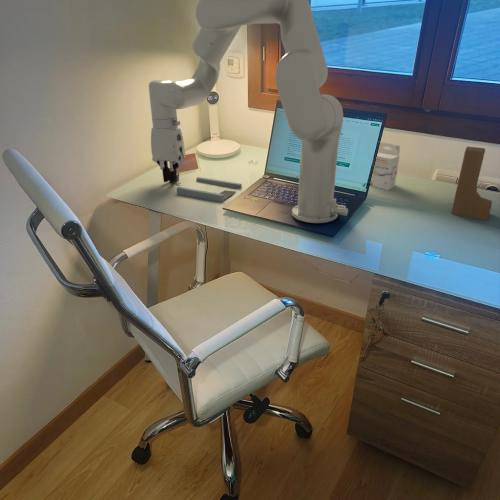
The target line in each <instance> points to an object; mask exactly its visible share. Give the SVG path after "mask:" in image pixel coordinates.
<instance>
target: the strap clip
mask: <svg viewBox="0 0 500 500" xmlns="http://www.w3.org/2000/svg"><path fill="white" fill-rule="evenodd" d="M176 172H177V181H179V180H180V172H179V171H176ZM177 181H176V182H173V184H174V185H176V186H177V187H182V186H183V184H182V182H177ZM181 184H182V185H181Z"/></svg>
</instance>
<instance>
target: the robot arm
mask: <svg viewBox="0 0 500 500" xmlns="http://www.w3.org/2000/svg"><path fill="white" fill-rule="evenodd" d="M195 17H196V18H195V19H196V22H197V24H198V25H199V27H200V29H199V30H198V33H197V34H196V37H194V40H193V42H192V50H193V52H194V54H195V55H196V56H197V57H198V58H199V63H198V65H197V68H196V70H195V71H194V73H193V75H192V77H191V78H188V79H182V80H176V81H172V80H171V79H170V80H169V79H157V80H151V81H150V82H149V84H148V93H149V102H150V103H149V104H150V112H151V122H152V127H151V130H150V131H151V132H150V149H151V150H150V151H151V155H152V161H153V162H154V163H156V164H157V165H158V166H159V169H160V170H161V172H162V178H163V183H167V182H169V183H170V184H174V183H177V175H178V173H177V172H178V171H177V170H178V169H179V167H180V166H182V165H185V164H186V161H185V158H186V148H185V142H184V136H183V132H182V130H181V127H179V126H180V125H181V121H180V120H178V114H177V110H183V109H187V108H190V107H194V106H195V107H196V106H199V105H201V104H203V103H204V102H205V101H206V100H207V99H208V97H209V96H210V95H211V93H212V91H213V89H214V88H215V86H216V84H217V82H218V79H219V76H220V69H221V61H222V59H223V57H224V56H225V55H226V53H227V51H228V49H229V47H230V46H231V44H232V43H233V41H234V40H235V37H236V35H237V34H238V32H239V31H240V28H241V27H242V26H247V25H255V24H260V25H261V24H262V25H263V24H268V25H269V24H278V25H279V26H280V36H281V37H280V39H281V43H282V46H283V48H284V53H285V54H284V55H283V56H282V57H281V58H280V59H279V61H278V62H277V66H276V68H275V74H274V75H275V85H276V89H277V92H278V96H279V98H280V102H281V105H282V109H283V111H284V114H285V118H286V122H287V124H288V127H289V130H290V131H291V132H292V134H293V136H295V137H296V138H297V140H298V139H299V140H300V141H301V146H300V156H299V157H300V158H299V159H300V161H299V175H298V177H299V178H298V193H297V197H298V198H297V205H295V206H294V207H293V208H292V209H291V215H292V217H293V218H294V219H296V220H298V221H301V222H304V223H305V222H306V223H311V224H324V223H330V222H333V221H335V220H336V219H337V218H338V216H339V215H340V216H345V217H346V216H348V213H349V208H347V207H346V205H342V204H338V203H337V198H334V193H335V186H336V183H335V182H336V175H337V174H336V173H337V163H338V162H337V160H338V154H339V145H340V144H339V142H340V138H341V137H340V136H341V133H342V127H343V122H344V111H343V107H342V105H341V102H340V101H339V100H338V99H337V98H336V97H334V96H333V95H330V94H326V93H325V94H321V91H320V89H319V88H321V87H323V85H324V84H325V83H326V81H327V79H328V75H329V74H328V73H329V72H328V71H329V70H328V64H327V61H326V58H325V55H324V50H323V48H322V43H321V40H320V35H319V33H318V30H317V27H316V23H315V19H314V18H315V17H314V15H313V12H312V8H311V5H310V2H309V1H308V0H199V1H198V2H197V5H196V6H195Z"/></svg>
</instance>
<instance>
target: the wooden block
mask: <svg viewBox="0 0 500 500" xmlns="http://www.w3.org/2000/svg"><path fill="white" fill-rule="evenodd" d="M485 153H486V148H483V147H475V146H466V147H465V150H464V154H463V160H462V163H461V168H460V173H459V177H458V182H457V186H456V191H455V195H454V199H453V200H454V201H453V205H452V208H451V209H452V210H451V213H450V214H451V215H454V216H459V217H465V218H471V219H476V220H482V221H488V220H489V216H490V212H491V209H492V203H493V202H492V200H491V199H488V198H484V197H482V196H481V195H480V194H479V193H478V188H477V187H478V186H477V185H478V183H479V178H480V173H481V170H482V165H483V161H484V157H485Z"/></svg>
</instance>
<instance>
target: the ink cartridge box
mask: <svg viewBox="0 0 500 500" xmlns="http://www.w3.org/2000/svg"><path fill="white" fill-rule="evenodd" d="M380 142H381V141H380ZM384 147H388V148H384ZM389 148H390V149H389ZM400 151H401V146H400V145H398V144H393V143H388V142H381V143H380V146H379V150H378V154H377V157H376V162H375V165H374V170H373V174H372V178H371V183H370V185H369V186H372V187H375V188H379V189H381V190H385V191H389V190H391V189H392V188H394V187H395V186H396V179H397V173H398V169H399V168H398V167H399V162H400Z"/></svg>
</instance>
